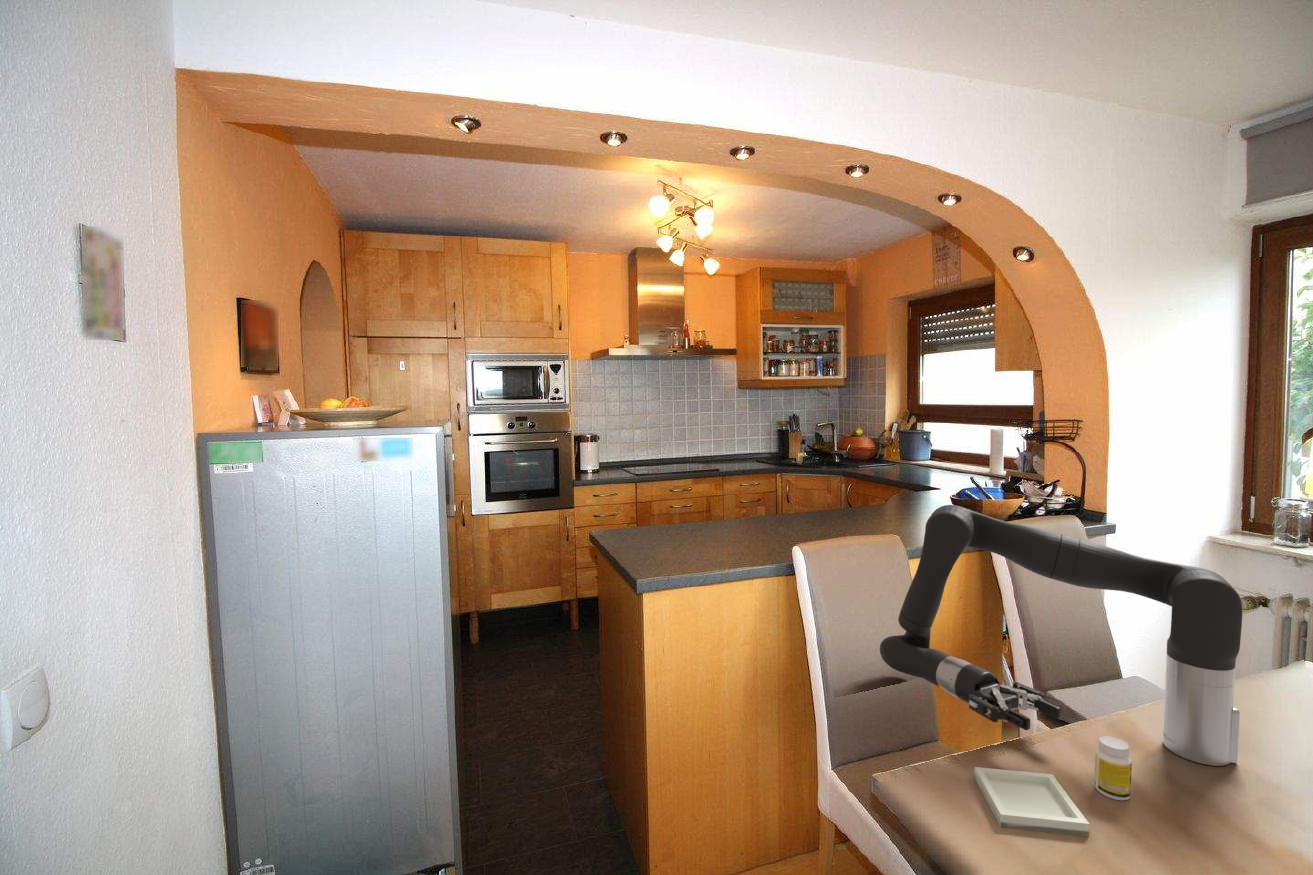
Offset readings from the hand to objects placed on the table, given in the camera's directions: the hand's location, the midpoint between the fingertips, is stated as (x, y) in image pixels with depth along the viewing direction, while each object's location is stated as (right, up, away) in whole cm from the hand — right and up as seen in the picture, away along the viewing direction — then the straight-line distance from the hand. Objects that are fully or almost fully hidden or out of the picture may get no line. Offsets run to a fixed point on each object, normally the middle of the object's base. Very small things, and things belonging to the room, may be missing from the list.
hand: (1044, 719), depth 109 cm
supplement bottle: (+5, -7, -10) cm, 13 cm away
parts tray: (-11, -8, -13) cm, 19 cm away
